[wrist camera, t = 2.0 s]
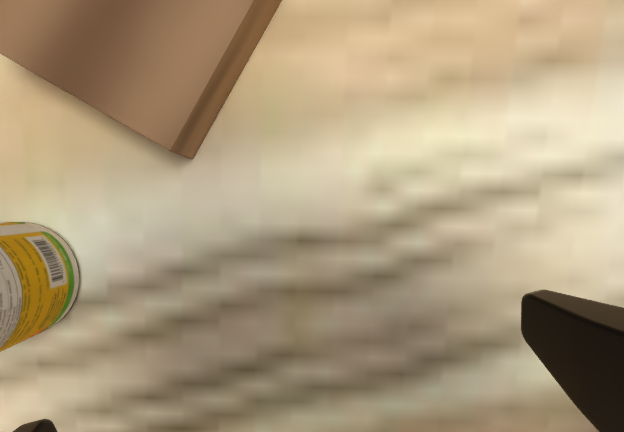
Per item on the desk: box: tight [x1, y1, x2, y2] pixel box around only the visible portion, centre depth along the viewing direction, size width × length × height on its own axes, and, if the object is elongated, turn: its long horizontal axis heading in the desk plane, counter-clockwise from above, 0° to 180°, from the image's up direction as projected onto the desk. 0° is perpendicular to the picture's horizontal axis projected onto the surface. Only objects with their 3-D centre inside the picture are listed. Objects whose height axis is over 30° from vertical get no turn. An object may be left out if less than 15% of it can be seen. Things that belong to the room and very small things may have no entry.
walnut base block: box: [0, 0, 282, 159], centre depth 17 cm, size 9×9×3 cm
